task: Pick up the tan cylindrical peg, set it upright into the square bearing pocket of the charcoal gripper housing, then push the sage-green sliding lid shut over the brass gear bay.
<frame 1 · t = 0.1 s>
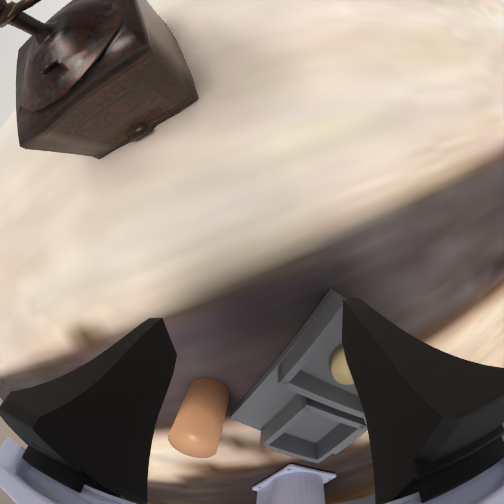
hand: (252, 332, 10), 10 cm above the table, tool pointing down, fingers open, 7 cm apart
manual coffee grinder: (155, 73, 18), on the table
lid: (431, 415, 17), point 5 cm above the table, slide at -8.0 cm
housing: (335, 389, 22), on the table
tan cylindrical peg: (209, 392, 24), on the table
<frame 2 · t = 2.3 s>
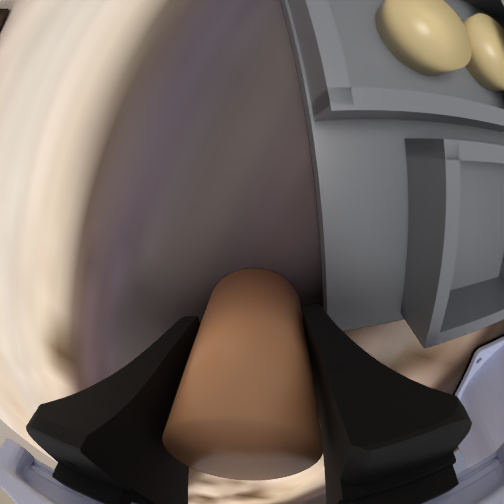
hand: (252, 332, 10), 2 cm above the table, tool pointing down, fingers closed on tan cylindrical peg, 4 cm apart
housing: (457, 132, 8), on the table
tan cylindrical peg: (254, 309, 12), on the table, touching gripper
when the fingers open (4 cm above the table, at t = 6.0 s): tan cylindrical peg drops 2 cm, resting on housing.
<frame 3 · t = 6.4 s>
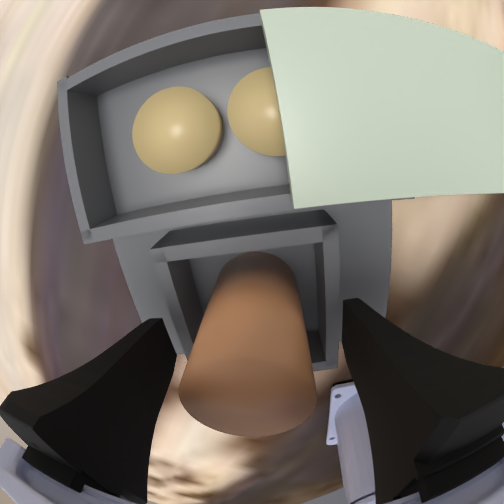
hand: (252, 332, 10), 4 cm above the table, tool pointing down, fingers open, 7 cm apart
lid: (452, 101, 6), point 5 cm above the table, slide at -8.0 cm
housing: (244, 206, 13), on the table
tan cylindrical peg: (256, 289, 13), point 1 cm above the table, touching housing
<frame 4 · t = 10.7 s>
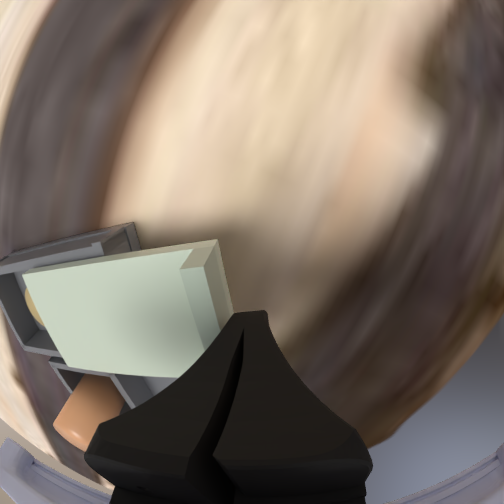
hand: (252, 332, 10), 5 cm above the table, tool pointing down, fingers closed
lid: (109, 333, 11), point 5 cm above the table, slide at -6.7 cm, touching gripper
housing: (94, 334, 18), on the table
tan cylindrical peg: (110, 378, 19), point 1 cm above the table, touching housing
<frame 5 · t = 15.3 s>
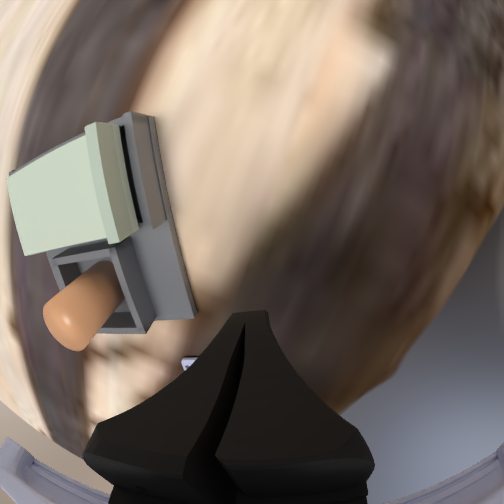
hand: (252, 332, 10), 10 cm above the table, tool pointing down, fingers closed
lid: (50, 201, 14), point 5 cm above the table, slide at -0.1 cm
housing: (100, 234, 20), on the table
tan cylindrical peg: (109, 282, 21), point 1 cm above the table, touching housing
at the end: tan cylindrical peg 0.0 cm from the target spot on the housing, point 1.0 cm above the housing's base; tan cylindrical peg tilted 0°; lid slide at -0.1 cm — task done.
